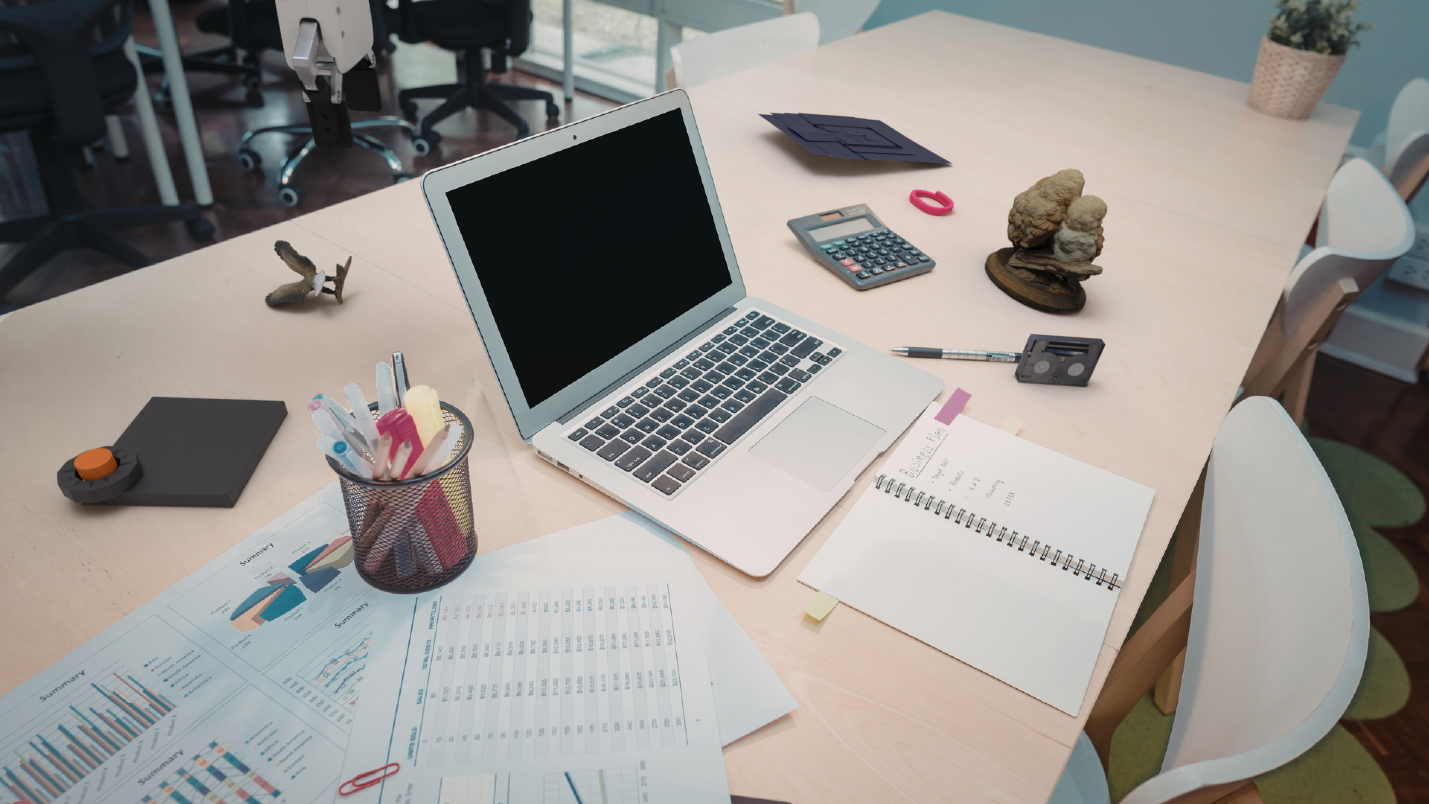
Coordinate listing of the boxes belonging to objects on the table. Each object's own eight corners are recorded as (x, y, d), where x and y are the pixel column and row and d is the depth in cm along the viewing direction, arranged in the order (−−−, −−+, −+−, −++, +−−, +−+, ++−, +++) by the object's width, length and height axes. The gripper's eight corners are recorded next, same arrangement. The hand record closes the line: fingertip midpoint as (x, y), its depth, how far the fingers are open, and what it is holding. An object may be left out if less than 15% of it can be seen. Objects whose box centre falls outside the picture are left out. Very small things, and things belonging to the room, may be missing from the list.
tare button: (73, 480, 66) (66, 468, 65) (90, 459, 68) (84, 447, 67) (107, 481, 66) (101, 469, 66) (123, 460, 68) (118, 448, 68)
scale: (57, 516, 66) (41, 489, 65) (143, 408, 78) (133, 383, 76) (227, 519, 68) (217, 493, 66) (288, 413, 79) (281, 388, 77)
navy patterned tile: (749, 125, 154) (753, 105, 152) (875, 133, 167) (880, 115, 165) (814, 174, 137) (820, 153, 135) (948, 178, 150) (955, 159, 148)
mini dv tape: (1081, 379, 96) (1100, 336, 92) (1086, 386, 95) (1105, 344, 91) (1014, 374, 96) (1030, 331, 92) (1018, 382, 94) (1034, 338, 91)
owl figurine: (1111, 315, 109) (1165, 195, 99) (1040, 324, 106) (1088, 200, 95) (1030, 253, 122) (1070, 142, 112) (964, 259, 119) (999, 145, 108)
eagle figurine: (358, 271, 99) (280, 254, 97) (348, 243, 92) (264, 224, 91) (340, 328, 96) (260, 310, 95) (328, 302, 90) (241, 283, 88)
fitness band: (959, 214, 132) (962, 205, 131) (929, 217, 130) (932, 208, 129) (931, 194, 138) (933, 185, 137) (902, 196, 136) (904, 188, 135)
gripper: (298, -104, 71) (336, 95, 82) (216, -75, 58) (275, 160, 68) (386, -96, 72) (413, 100, 82) (326, -65, 58) (368, 165, 69)
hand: (351, 127), depth 75 cm, fingers open, 9 cm apart
